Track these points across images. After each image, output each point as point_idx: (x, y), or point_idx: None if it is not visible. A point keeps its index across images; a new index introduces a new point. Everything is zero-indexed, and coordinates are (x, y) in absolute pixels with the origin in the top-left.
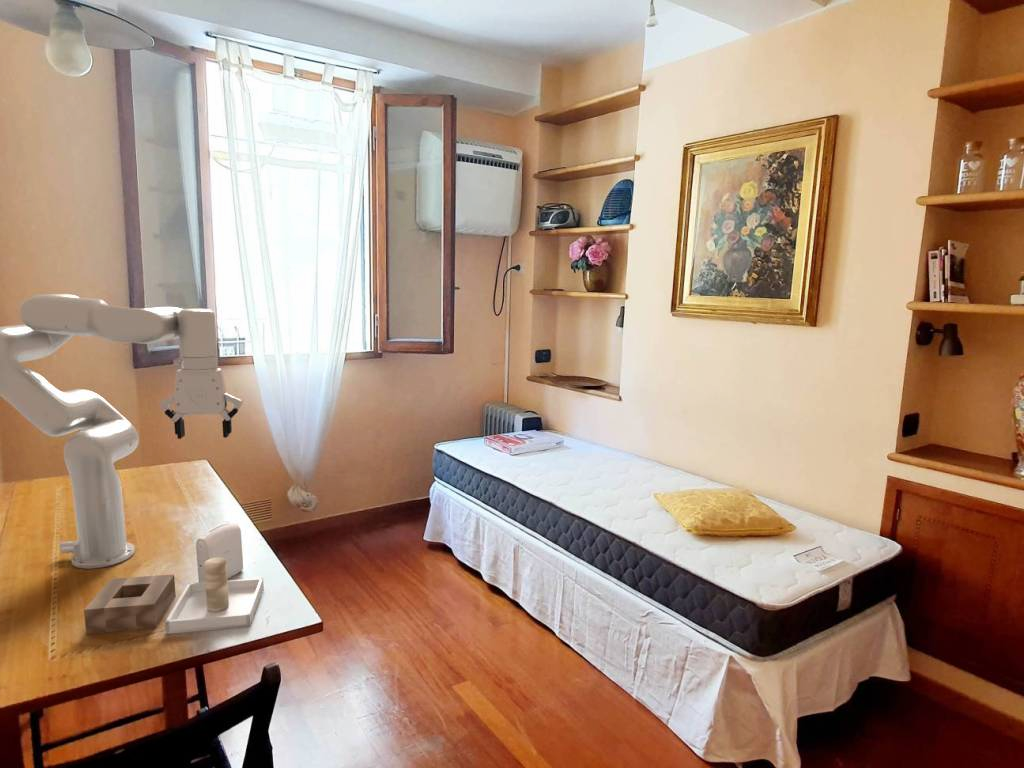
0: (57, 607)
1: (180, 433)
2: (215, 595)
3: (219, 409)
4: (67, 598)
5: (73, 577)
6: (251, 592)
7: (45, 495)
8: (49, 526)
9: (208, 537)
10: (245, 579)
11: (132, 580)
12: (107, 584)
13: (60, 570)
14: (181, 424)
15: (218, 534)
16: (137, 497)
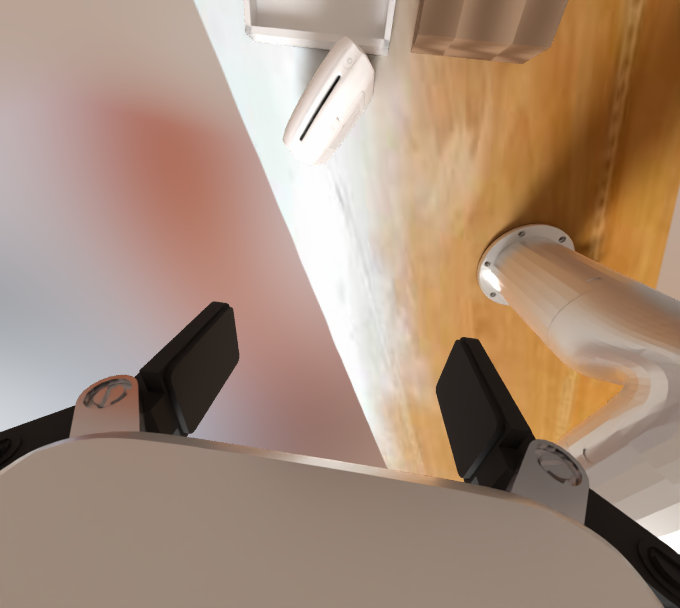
0: (620, 64)
1: (468, 358)
2: None
3: (11, 477)
4: (596, 105)
5: (574, 199)
6: (270, 10)
7: None
8: (581, 385)
9: (340, 49)
10: (279, 33)
11: (506, 20)
12: (561, 7)
13: (589, 234)
14: (476, 423)
15: (318, 72)
16: None
